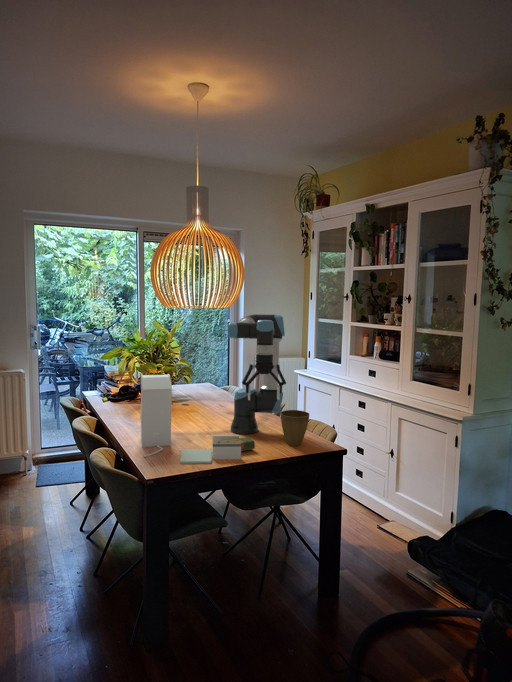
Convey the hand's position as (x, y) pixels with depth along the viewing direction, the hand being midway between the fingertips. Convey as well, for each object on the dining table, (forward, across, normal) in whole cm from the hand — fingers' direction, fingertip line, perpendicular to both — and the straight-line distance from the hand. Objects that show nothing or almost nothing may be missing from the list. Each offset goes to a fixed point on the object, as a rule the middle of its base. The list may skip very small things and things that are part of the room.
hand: (263, 399), depth 230 cm
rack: (+27, -16, +8) cm, 33 cm away
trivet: (+27, -31, +2) cm, 41 cm away
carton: (+29, -17, +7) cm, 35 cm away
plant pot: (+28, +19, +20) cm, 39 cm away
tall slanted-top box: (+28, -50, +20) cm, 61 cm away
